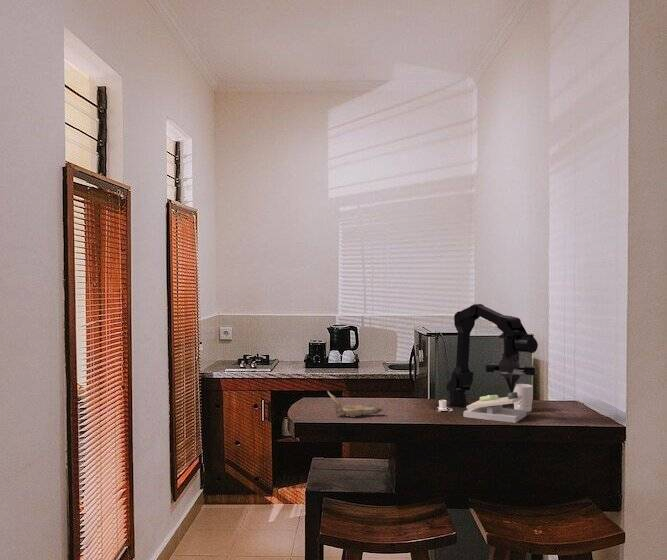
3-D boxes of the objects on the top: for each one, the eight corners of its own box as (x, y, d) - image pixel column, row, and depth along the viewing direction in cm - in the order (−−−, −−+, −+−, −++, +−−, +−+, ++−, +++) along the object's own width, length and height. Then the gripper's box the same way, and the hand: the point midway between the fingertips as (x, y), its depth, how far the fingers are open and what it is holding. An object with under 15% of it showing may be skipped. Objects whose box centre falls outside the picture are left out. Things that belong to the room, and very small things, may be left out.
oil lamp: (327, 414, 245) (327, 389, 245) (381, 413, 245) (381, 388, 245) (328, 419, 236) (327, 393, 236) (383, 418, 237) (383, 392, 237)
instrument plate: (466, 408, 236) (465, 400, 237) (478, 403, 247) (477, 395, 247) (513, 403, 226) (511, 395, 227) (523, 397, 237) (521, 389, 238)
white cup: (510, 411, 245) (510, 386, 245) (514, 407, 252) (514, 383, 252) (531, 413, 242) (530, 387, 242) (534, 409, 248) (534, 384, 249)
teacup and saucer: (446, 413, 244) (446, 403, 244) (428, 411, 249) (428, 401, 249) (456, 410, 251) (456, 400, 251) (438, 407, 256) (438, 398, 256)
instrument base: (463, 416, 236) (463, 405, 236) (476, 410, 248) (476, 399, 248) (515, 422, 225) (515, 410, 225) (526, 415, 237) (526, 403, 237)
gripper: (480, 351, 232) (480, 393, 232) (530, 354, 221) (530, 397, 221) (490, 348, 241) (490, 388, 241) (538, 351, 231) (539, 392, 231)
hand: (511, 391), depth 233 cm, fingers closed
